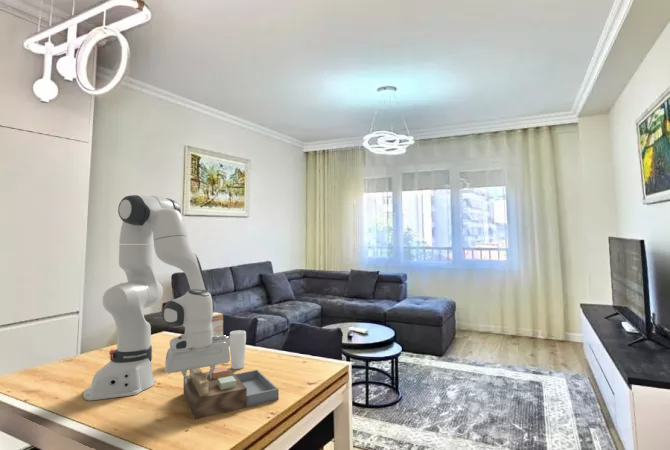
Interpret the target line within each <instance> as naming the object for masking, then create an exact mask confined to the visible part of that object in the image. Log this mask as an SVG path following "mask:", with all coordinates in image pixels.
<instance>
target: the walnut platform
mask: <svg viewBox="0 0 670 450" xmlns="http://www.w3.org/2000/svg"><path fill="white" fill-rule="evenodd" d="M226 369H227V370H228V376H233V377H234V378H235V379H236V387H232V388H227V389H223V390H221V389H220V388H219V386H218V385H217V379H218V378H216V379H213V378H212V379H209V380H208V395H206V396H201V397H200V395H199V393H198V391H197V389H196V388H195V386H194V384H193V382H192V380H191V378H190V383H187V384H185V377H184V376H183V397H184V398H185V400H186V404H187V406H188V408H189V409H190V412H191V415H192V417H193V419H194V420H198V419H201V418H205V417H210V416H215V415H219V414H222V413H228V412H231V411H237V410H240V409H243V408H244V409H245V408H248V407H247V388H246V387H245V386H244V385H243V383H242V382H241V381H240V380H239V379H238V378H237V377H236V375H235V374H236V373H234V372H233V371H232V370H231V368H226ZM202 373H203V374H204V376H205V377H206V373H209V371H206V372H202ZM186 376H187V377H188V376H190V374H189V375H186ZM228 376H226V377H228ZM221 378H223V377H221Z"/></svg>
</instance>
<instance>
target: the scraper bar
mask: <svg viewBox="0 0 670 450" xmlns="http://www.w3.org/2000/svg"><path fill="white" fill-rule="evenodd" d="M201 369H202V368H196V369H190V370H189V375H190V378H191V380H192V382H193V384H194V386H195V388H196V389H197V391H198V393H199V395H200V397H201V396H206V395H208V380H207V379H206V377H205V376H204V374H203V373H204V372H203V371H202V370H201Z"/></svg>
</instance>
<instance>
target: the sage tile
mask: <svg viewBox="0 0 670 450" xmlns="http://www.w3.org/2000/svg"><path fill="white" fill-rule="evenodd" d="M217 385H218V386H219V388H220V389H221V390H223V389H227V388H232V387H236V379H235V378H234V377H233V376H228V377H223V378H218V379H217Z"/></svg>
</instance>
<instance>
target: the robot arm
mask: <svg viewBox="0 0 670 450" xmlns="http://www.w3.org/2000/svg"><path fill="white" fill-rule="evenodd" d="M118 204H119V205H118V210H117V212H118V216H119V218H120V219H121V221H122V223H121V226H120V227H121V228H120V231H119V232H120V233H119V244H118V265H119V267H120V269H122V270H123V272H124V273H125V275H126V278H127V279H126V280H127V282H119V283H118V284H115V285H113V286H112V287H109V288H108V289H106V291H105V292H104V294H103V296H102V305H103V308H104V309H105V310H106V312H107V313H110V314H111V316H112V318H113V321H114V323H115V328H116V345H117V346H116V349H114V348H111V349H110V350H109V352H108V353H109V355H110V357H109V358H110V361H109V362H108V363H106V364H105V365H104V366H103V367H101V368H100V369H99V370H98V371H96V372H95V374H94V375H93V377H92V380H91V385H89V386H88V387H86V388H85V389H84V392H83V399H84V400H86V401H89V402H90V401H98V400H106V399H113V398H119V397H122V398H123V397H127V396H128V397H129V396H135V395H138V394H140V393H141V392H143V391H145V390H147V389H150V388H151V387H152V386H154V385H155V383H156V381H155V378H154V374H153V368H152V360H153V347H152V345H151V340H152V339H151V337H152V334H151V333H152V330H151V328H152V326H151V324H150V322H148V321H147V320H146V319H145V316H144V309H147V308H151V307H152V306H153V305H156V303H158V302H159V301H160V300H161V299H162V297H163V293H164V288H163V286H162V284H161V283H160V282H159V281H158V279H157V277H156V273H155V270H154V267H153V247H154V252H155V255H156V257H157V259H159V260H160V261H161V262H163V263H164V264H167V265H169V266H172V267H175V268H177V269H179V270H180V271H182V272H183V273H184V274H185V276H186V278H187V283H188V285H189V290H188V291H186V293H185V294H183V295H182V296H180V297H177V298H174V299H171V300H169V301H167V302H166V303H165V305H164V306H163V308H162V309H163V310H162V319H163V321H164V323H165V324H166V325H167V326H168V327H170V328H181V327H184V333H183V334H180V335H178V336H177V337H173V338H172V339H170V341H169V346H170V347H169V348H168V349H167V352H166V355H165V360H164V361H165V362H164V363H165V364H164V369H165V371H166V373H168V374H172V373H177V372H181V374H182V375H183V378H184V377H185V384H187V383H190V376H189V375H186V374H187V373H188V370H189V371H190V369H196V368H200V369H202V368H207V367H209V368H210V369H209V371H208V372H209V373H206V372H205V373H206V379H207V380H209V379H212V373H213V371H214V369H215V368H216V366H218V365H224V364H228V363H229V362H230V361H231V353H230V336H226V335H223V336H216V337H213V327H212V323H211V321H212V317H213V313H214V312H215V303H214V300H213V298H212V294H211V292H209V290H208V289H209V288H208V286H207V282H206V279H205V275H204V271H203V268H202V265H201V262H200V259H199V257H198V255H197V254H196V253H195V252H194V251H193V249H192V248H191V246H190V244H189V239H188V235H187V228H186V226H185V225H186V224H185V221H184V219H183V215H182V211H181V210H182V209H181V206H180V204H179V202H177V201H176V200H174V199H171V198H169V197H168V198H164V197H160V196H155V195H137V194H133V195H126V196H124V197H123V198H122V199H121V200H120V202H119V203H118ZM187 376H188V377H187Z"/></svg>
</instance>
